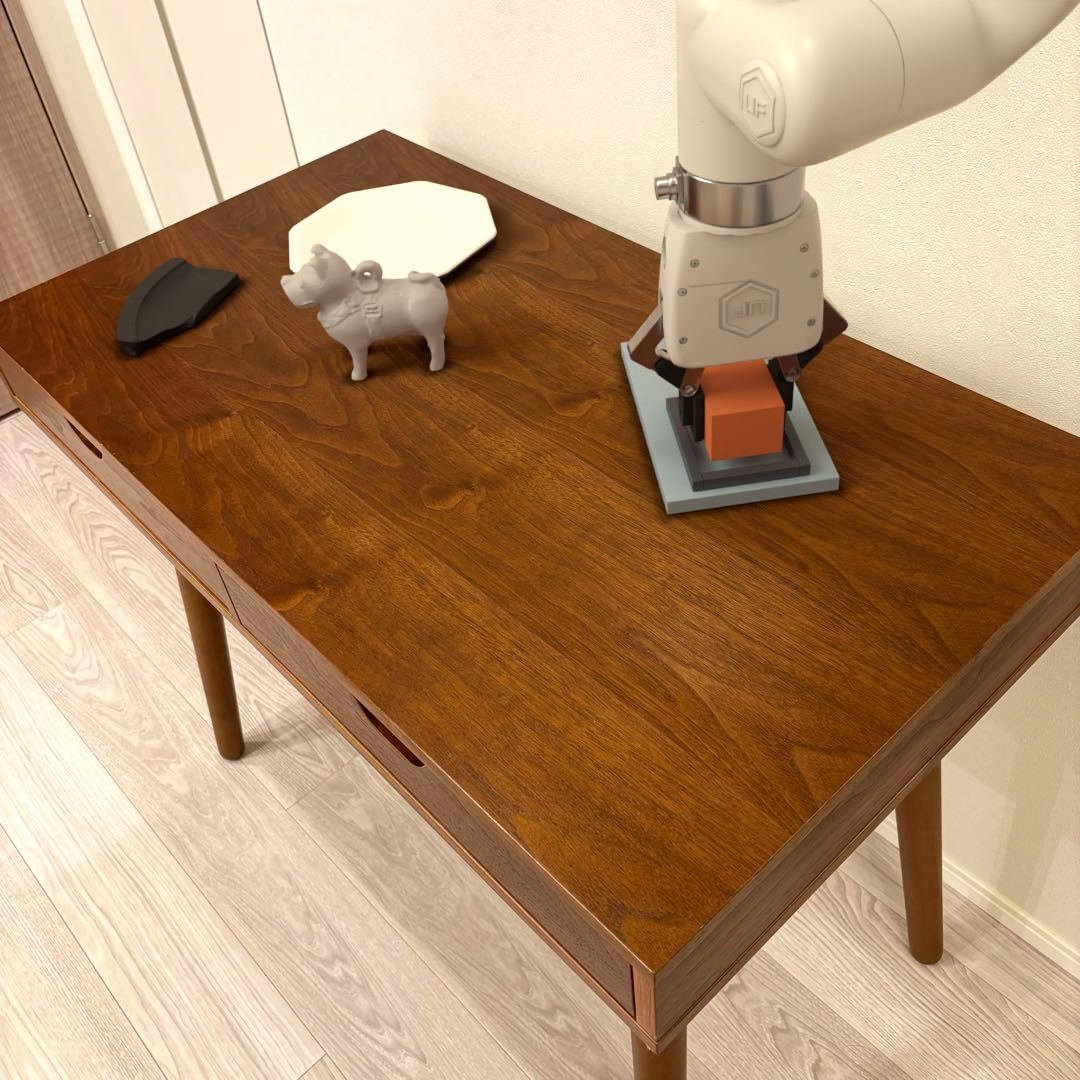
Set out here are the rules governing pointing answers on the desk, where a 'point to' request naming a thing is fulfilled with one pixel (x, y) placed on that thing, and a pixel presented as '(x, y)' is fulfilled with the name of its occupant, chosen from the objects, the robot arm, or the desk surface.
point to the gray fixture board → (729, 481)
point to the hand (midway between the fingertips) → (734, 421)
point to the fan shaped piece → (170, 303)
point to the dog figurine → (370, 304)
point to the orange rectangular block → (741, 411)
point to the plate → (398, 229)
